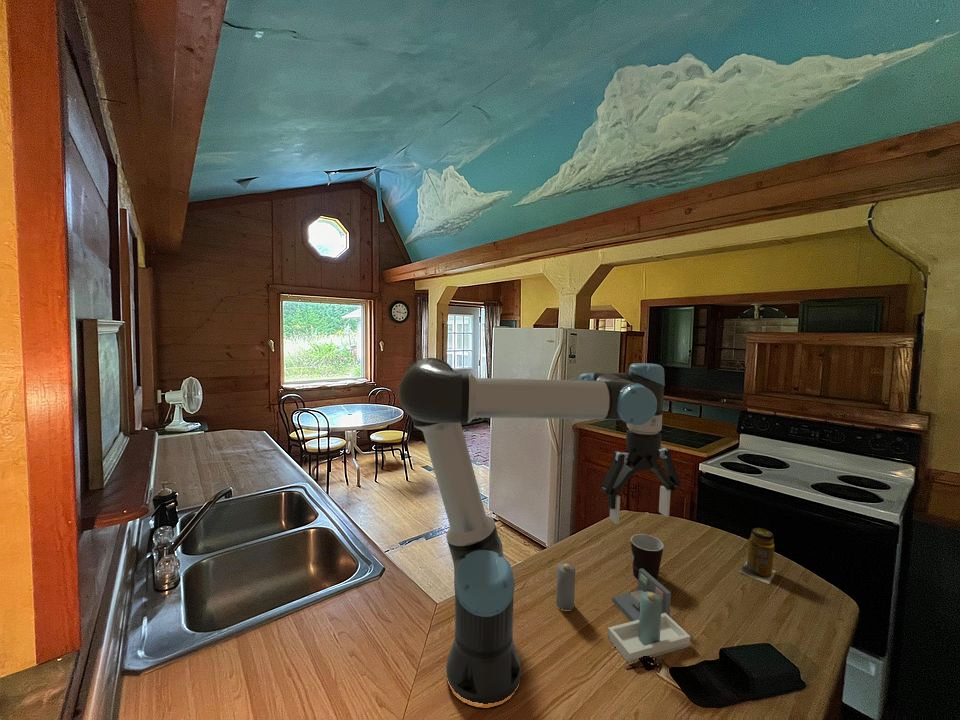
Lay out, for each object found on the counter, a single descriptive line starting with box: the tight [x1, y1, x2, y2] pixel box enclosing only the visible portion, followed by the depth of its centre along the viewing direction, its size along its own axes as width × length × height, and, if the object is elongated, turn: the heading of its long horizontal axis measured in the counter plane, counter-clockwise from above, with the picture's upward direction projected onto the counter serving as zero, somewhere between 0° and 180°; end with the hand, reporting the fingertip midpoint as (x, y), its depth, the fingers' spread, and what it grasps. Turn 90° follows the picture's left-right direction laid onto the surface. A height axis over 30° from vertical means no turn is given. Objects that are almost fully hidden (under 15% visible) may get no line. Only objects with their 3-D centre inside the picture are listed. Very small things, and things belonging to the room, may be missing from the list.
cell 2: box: [638, 592, 662, 646], centre depth 92 cm, size 4×4×11 cm
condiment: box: [738, 527, 777, 585], centre depth 118 cm, size 7×8×12 cm
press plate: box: [630, 590, 644, 609], centre depth 102 cm, size 4×3×2 cm
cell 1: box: [555, 562, 576, 611], centre depth 104 cm, size 4×4×11 cm
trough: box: [607, 613, 691, 664], centre depth 92 cm, size 16×8×2 cm, turn 108°
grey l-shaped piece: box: [611, 568, 672, 622], centre depth 102 cm, size 9×10×7 cm
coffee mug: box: [630, 533, 665, 581], centre depth 117 cm, size 12×9×10 cm
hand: (639, 517), depth 98 cm, fingers open, 13 cm apart
